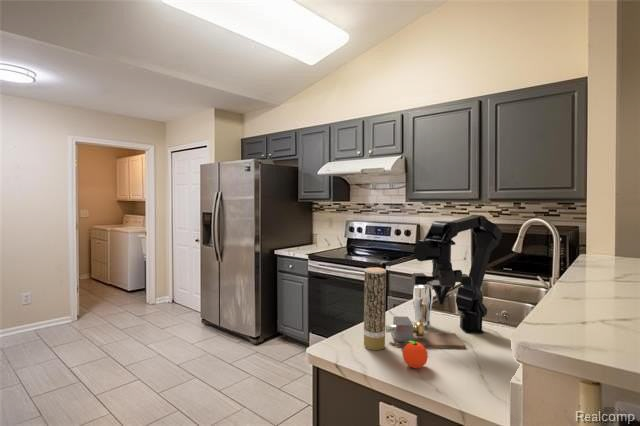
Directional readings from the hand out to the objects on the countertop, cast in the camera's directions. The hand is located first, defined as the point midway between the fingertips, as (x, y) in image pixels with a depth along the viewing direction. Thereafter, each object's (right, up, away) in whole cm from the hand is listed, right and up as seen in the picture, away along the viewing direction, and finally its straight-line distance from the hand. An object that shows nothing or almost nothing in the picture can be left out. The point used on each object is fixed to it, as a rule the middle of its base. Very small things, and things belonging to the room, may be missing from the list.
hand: (440, 304), depth 117 cm
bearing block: (-13, -12, -1) cm, 18 cm away
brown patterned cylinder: (-23, -12, -5) cm, 27 cm away
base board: (-5, -12, -1) cm, 13 cm away
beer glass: (-2, -12, +13) cm, 17 cm away
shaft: (-13, -10, -1) cm, 16 cm away
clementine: (-14, -13, -18) cm, 26 cm away
